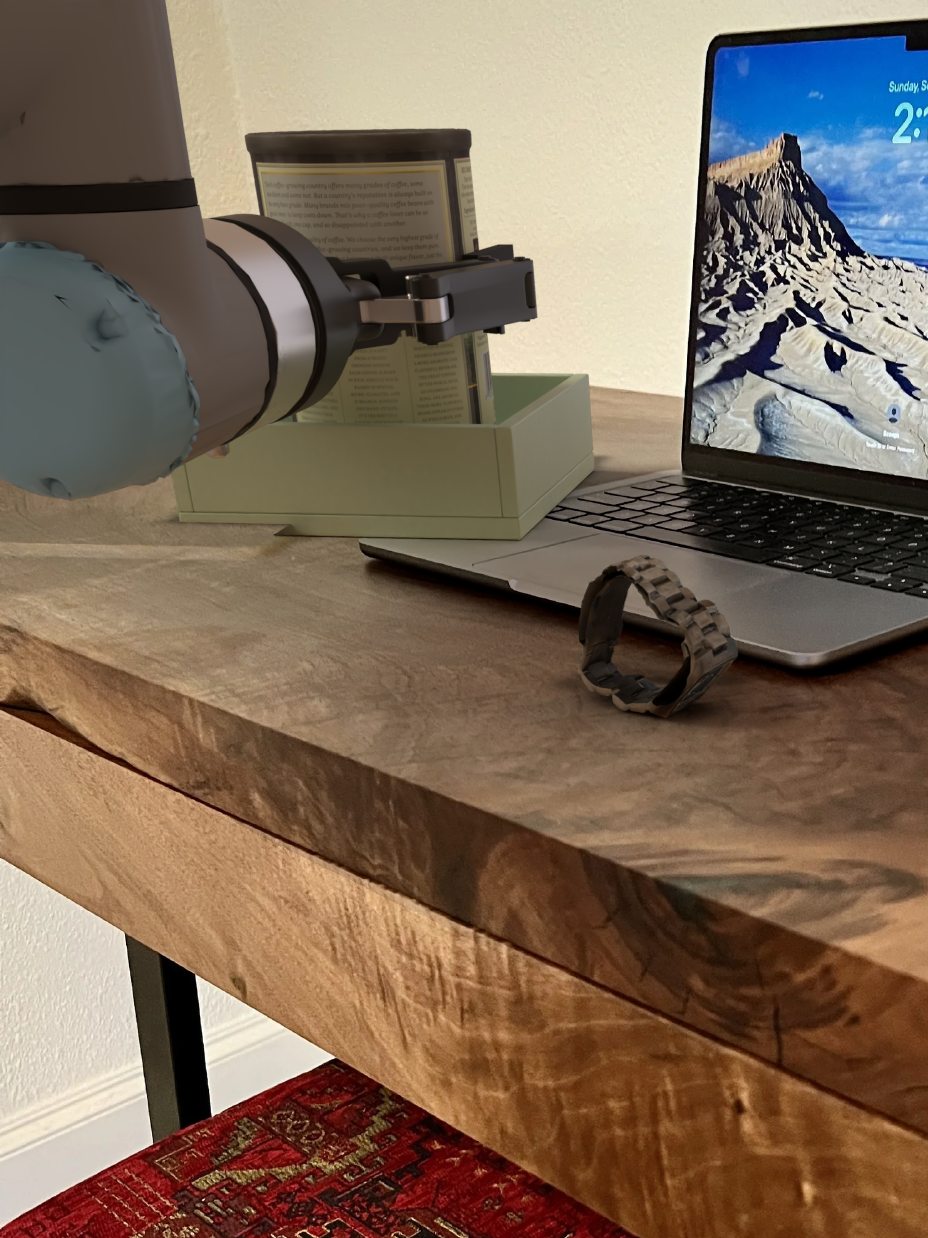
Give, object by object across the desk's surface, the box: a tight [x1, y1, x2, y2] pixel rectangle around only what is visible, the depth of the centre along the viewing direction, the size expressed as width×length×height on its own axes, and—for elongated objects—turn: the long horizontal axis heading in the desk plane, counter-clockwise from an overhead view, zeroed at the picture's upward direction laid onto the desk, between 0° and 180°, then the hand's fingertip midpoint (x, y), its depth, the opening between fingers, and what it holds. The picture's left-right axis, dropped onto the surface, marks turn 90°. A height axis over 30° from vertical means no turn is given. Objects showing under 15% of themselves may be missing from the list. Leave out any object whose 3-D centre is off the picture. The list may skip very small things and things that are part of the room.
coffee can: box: [244, 127, 497, 425], centre depth 78 cm, size 10×10×14 cm
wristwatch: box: [575, 554, 739, 718], centre depth 54 cm, size 3×5×5 cm
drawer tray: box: [170, 372, 596, 541], centre depth 82 cm, size 17×17×5 cm
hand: (404, 274), depth 81 cm, fingers closed on coffee can, 10 cm apart
